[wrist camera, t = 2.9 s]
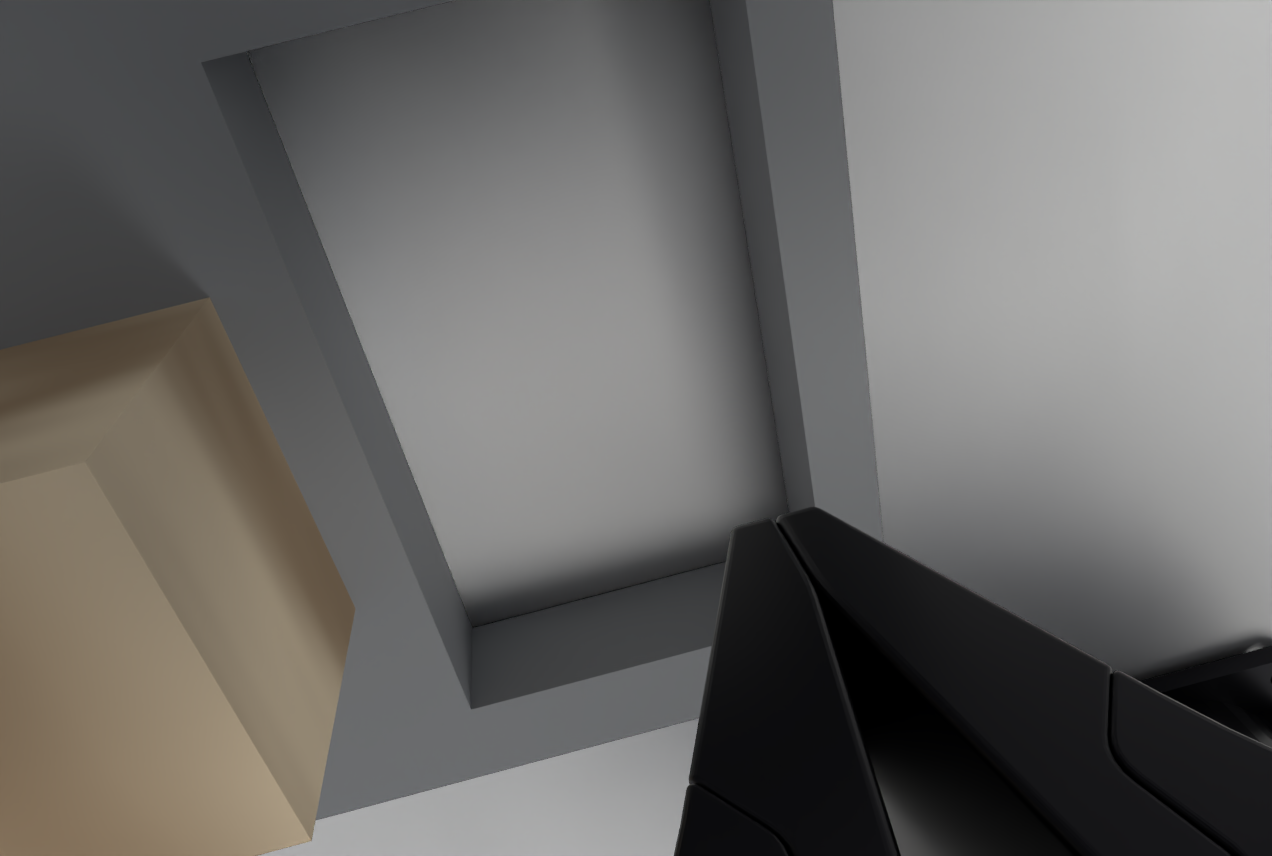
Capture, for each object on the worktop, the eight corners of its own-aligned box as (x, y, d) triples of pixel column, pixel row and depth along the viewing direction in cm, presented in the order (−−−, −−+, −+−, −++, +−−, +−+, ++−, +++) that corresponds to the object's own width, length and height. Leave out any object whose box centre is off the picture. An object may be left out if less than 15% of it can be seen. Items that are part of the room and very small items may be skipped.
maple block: (209, 297, 11) (84, 461, 8) (355, 608, 14) (311, 840, 10) (-201, 400, 11) (-517, 615, 8) (21, 695, 13) (-141, 961, 10)
